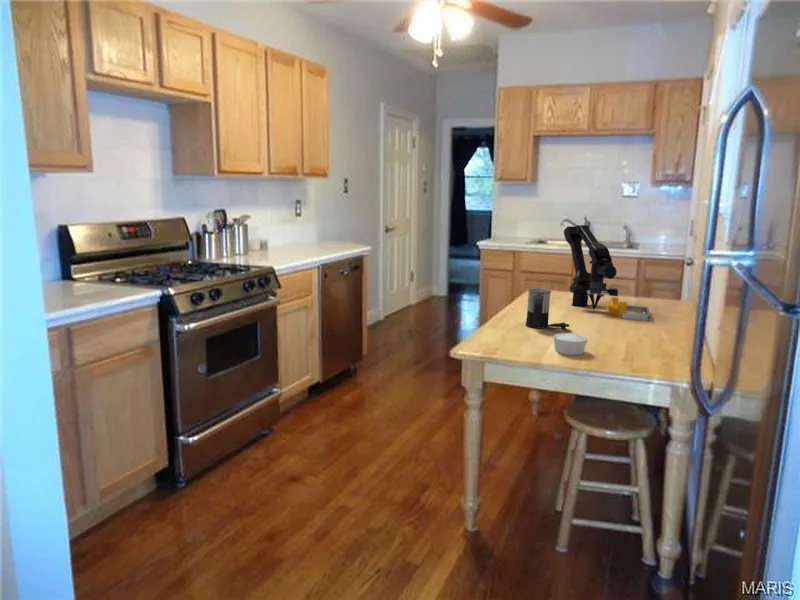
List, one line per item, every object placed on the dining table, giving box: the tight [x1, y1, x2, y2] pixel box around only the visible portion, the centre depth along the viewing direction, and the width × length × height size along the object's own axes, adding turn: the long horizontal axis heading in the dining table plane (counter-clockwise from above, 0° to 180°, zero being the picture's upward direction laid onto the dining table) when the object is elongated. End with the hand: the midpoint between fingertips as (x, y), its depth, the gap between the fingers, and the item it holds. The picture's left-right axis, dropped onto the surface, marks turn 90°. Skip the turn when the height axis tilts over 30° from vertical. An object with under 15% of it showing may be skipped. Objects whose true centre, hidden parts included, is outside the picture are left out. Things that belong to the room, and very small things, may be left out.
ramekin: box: [552, 333, 588, 356], centre depth 206 cm, size 11×11×5 cm
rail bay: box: [621, 304, 651, 322], centre depth 263 cm, size 11×18×2 cm, turn 160°
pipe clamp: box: [605, 296, 628, 318], centre depth 265 cm, size 12×4×6 cm, turn 1°
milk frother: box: [525, 287, 570, 330], centre depth 237 cm, size 14×16×15 cm
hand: (594, 308), depth 269 cm, fingers closed
